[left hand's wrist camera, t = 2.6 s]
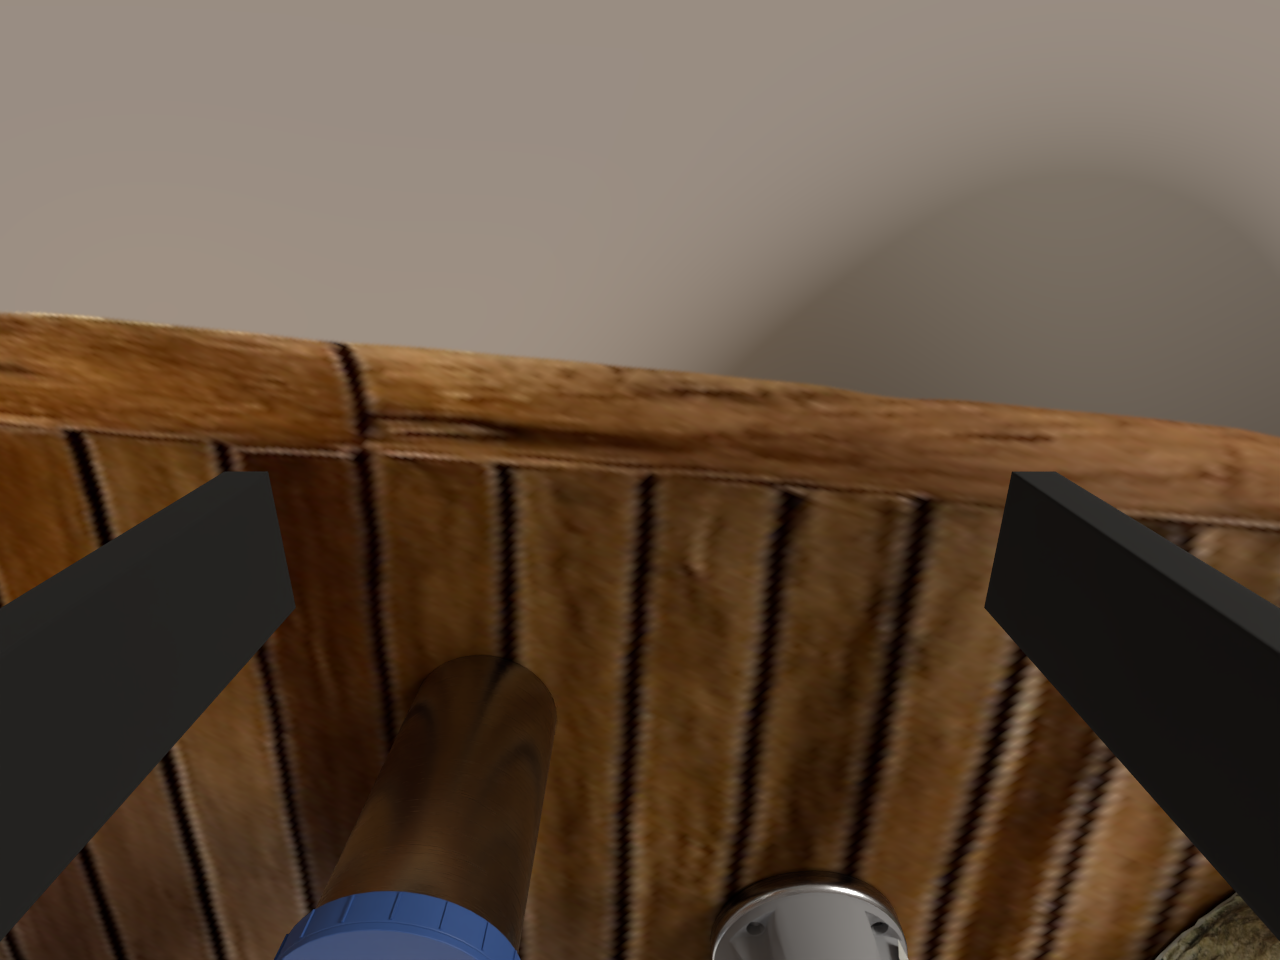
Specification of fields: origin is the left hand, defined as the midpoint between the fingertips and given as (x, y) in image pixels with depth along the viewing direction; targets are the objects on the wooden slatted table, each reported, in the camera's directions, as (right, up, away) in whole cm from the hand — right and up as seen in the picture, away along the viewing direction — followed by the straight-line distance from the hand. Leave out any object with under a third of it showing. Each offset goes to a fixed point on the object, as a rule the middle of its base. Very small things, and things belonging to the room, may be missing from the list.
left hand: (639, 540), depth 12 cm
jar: (-11, -15, +36) cm, 40 cm away
